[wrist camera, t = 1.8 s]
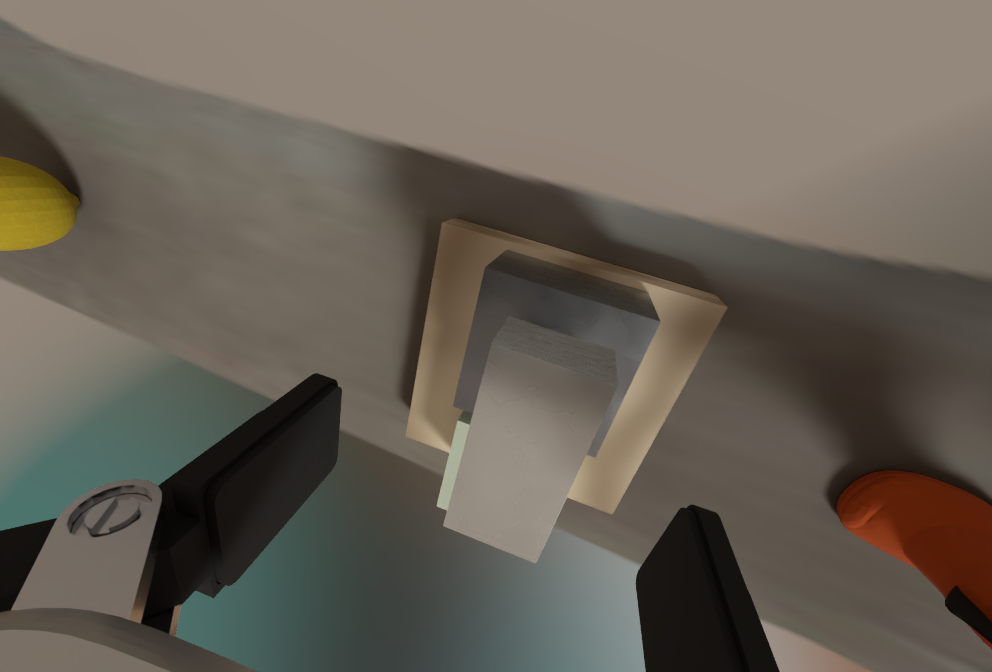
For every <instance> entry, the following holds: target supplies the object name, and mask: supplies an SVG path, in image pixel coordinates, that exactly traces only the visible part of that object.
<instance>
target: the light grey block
mask: <svg viewBox="0 0 992 672" xmlns="http://www.w3.org/2000/svg"><path fill="white" fill-rule="evenodd" d="M617 387H618V377H617V367H616V356H615V350H612V349H609V348H606V347H603V346H600V345H597V344H594V343H590V342H587V341H584V340H581V339H578V338H575V337H572V336H569V335H566V334H563V333H560V332H557V331H553V330H550V329H547V328H544V327H541V326H538V325H535V324H532V323H529V322H526V321H523V320H520V319H517V318H513V317H510V316H508V318H507V319H506V321H505V323H504V324H503V326H502V327H501V329H500V330H499V332H498V334H497V335H496V337H495V338H494V340H493V341H492V343H491V347H490V351H489V354H488V358H487V362H486V366H485V370H484V373H483V377H482V381H481V385H480V388H479V392H478V396H477V400H476V404H475V407H474V411H473V415H472V419H471V423H470V426H469V430H468V434H467V438H466V442H465V445H464V449H463V453H462V457H461V460H460V464H459V468H458V472H457V476H456V479H455V483H454V487H453V491H452V495H451V498H450V502H449V506H448V510H447V514H446V518H445V521H444V525H443V526H444V527H447V528H450V529H452V530H454V531H457V532H459V533H462V534H464V535H467V536H469V537H472V538H474V539H476V540H479V541H481V542H484V543H487V544H489V545H491V546H494V547H496V548H499V549H501V550H504V551H506V552H509V553H511V554H513V555H516V556H519V557H521V558H523V559H526V560H528V561H531V562H533V563H537V560H538V558H539V556H540V554H541V552H542V549H543V547H544V545H545V543H546V541H547V539H548V537H549V534H550V532H551V530H552V528H553V526H554V524H555V521H556V519H557V517H558V515H559V513H560V511H561V508H562V506H563V504H564V502H565V500H566V498H567V495H568V493H569V491H570V489H571V487H572V485H573V483H574V480H575V478H576V476H577V474H578V472H579V470H580V467H581V465H582V463H583V461H584V459H585V457H586V454H587V452H588V450H589V448H590V446H591V444H592V441H593V439H594V437H595V435H596V433H597V431H598V428H599V426H600V424H601V422H602V420H603V418H604V416H605V413H606V411H607V409H608V407H609V405H610V403H611V400H612V398H613V396H614V394H615V392H616V390H617Z"/></svg>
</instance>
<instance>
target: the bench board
mask: <svg viewBox="0 0 992 672" xmlns="http://www.w3.org/2000/svg"><path fill="white" fill-rule="evenodd" d="M505 250H510V251H514V252H517V253H520V254H524V255H527V256H530V257H534V258H537V259H540V260H544V261H547V262H550V263H554V264H557V265H560V266H564V267H567V268H570V269H573V270H577V271H580V272H583V273H587V274H590V275H593V276H597V277H600V278H603V279H607V280H610V281H613V282H617V283H620V284H623V285H626V286H630V287H633V288H636V289H640V290H643V291H646V292H648V293H649V296H650V298H651V300H652V303H653V305H654V307H655V310H656V312H657V314H658V317H659V319H660V321H661V322H660V324H659V326H658V329H657V331H656V333H655V335H654V337H653V339H652V341H651V343H650V345H649V347H648V349H647V351H646V354H645V356H644V358H643V360H642V362H641V364H640V366H639V368H638V370H637V372H636V374H635V376H634V379H633V381H632V383H631V385H630V387H629V389H628V391H627V393H626V395H625V397H624V399H623V402H622V404H621V406H620V408H619V410H618V412H617V414H616V416H615V418H614V420H613V422H612V424H611V427H610V429H609V431H608V433H607V435H606V437H605V439H604V441H603V443H602V445H601V447H600V450H599V452H598V454H597V456H596V458H594V457H591V456H589V455H586V457H585V459H584V461H583V463H582V466H581V468H580V470H579V472H578V475H577V477H576V479H575V481H574V483H573V485H572V488H571V490H570V492H569V494H568V496H567V498H570V499H573V500H575V501H578V502H580V503H583V504H586V505H588V506H591V507H594V508H596V509H599V510H602V511H604V512H607V513H610V514H613V513H614V511H615V509H616V507H617V505H618V504H619V502H620V500H621V498H622V496H623V495H624V493H625V491H626V489H627V487H628V486H629V484H630V482H631V480H632V478H633V477H634V475H635V473H636V471H637V469H638V468H639V466H640V464H641V462H642V460H643V459H644V457H645V455H646V453H647V451H648V450H649V448H650V446H651V444H652V443H653V441H654V439H655V437H656V435H657V434H658V432H659V430H660V428H661V426H662V425H663V423H664V421H665V419H666V417H667V416H668V414H669V412H670V410H671V408H672V407H673V405H674V403H675V401H676V399H677V398H678V396H679V394H680V392H681V390H682V389H683V387H684V385H685V383H686V381H687V380H688V378H689V376H690V374H691V372H692V371H693V369H694V367H695V365H696V363H697V362H698V360H699V358H700V356H701V355H702V353H703V351H704V349H705V347H706V346H707V344H708V342H709V340H710V338H711V337H712V335H713V333H714V331H715V329H716V328H717V326H718V324H719V322H720V320H721V319H722V317H723V315H724V313H725V311H726V310H727V308H728V307H727V306H726V305H725V304H724V303H723V302H722V301H721V300H720V299H719V298H718V297H717V296H716V295H715V294H711V293H708V292H705V291H701V290H698V289H694V288H691V287H688V286H684V285H681V284H677V283H674V282H671V281H667V280H664V279H661V278H657V277H654V276H650V275H647V274H644V273H640V272H637V271H634V270H630V269H627V268H623V267H620V266H617V265H613V264H610V263H607V262H603V261H600V260H596V259H593V258H590V257H586V256H583V255H580V254H576V253H573V252H569V251H566V250H563V249H559V248H556V247H553V246H549V245H546V244H542V243H539V242H536V241H532V240H529V239H526V238H522V237H519V236H515V235H512V234H509V233H505V232H502V231H498V230H495V229H492V228H488V227H485V226H482V225H478V224H475V223H471V222H468V221H465V220H461V219H458V218H453V219H450V220H447V221H443V222H442V225H441V231H440V237H439V243H438V249H437V255H436V261H435V267H434V273H433V278H432V284H431V290H430V296H429V302H428V308H427V314H426V320H425V326H424V331H423V337H422V343H421V349H420V355H419V361H418V367H417V373H416V379H415V384H414V390H413V396H412V402H411V408H410V414H409V420H408V426H407V432H406V437H409V438H411V439H414V440H417V441H419V442H422V443H425V444H427V445H430V446H433V447H435V448H438V449H441V450H443V451H446V452H448V453H450V449H451V445H452V441H453V437H454V433H455V429H456V425H457V421H458V419H459V417H460V415H461V413H462V412H463V410H462V409H459V408H456V407H453V403H454V399H455V394H456V390H457V386H458V381H459V377H460V373H461V368H462V364H463V360H464V356H465V351H466V347H467V343H468V338H469V334H470V330H471V325H472V321H473V317H474V312H475V308H476V304H477V299H478V295H479V291H480V287H481V282H482V278H483V274H484V269H485V267H486V266H487V265H488V264H490V263H491V262H492V261H493V260H494V259H496V258H497V257H498V256H499V255H501V254H502V253H503V252H504V251H505Z"/></svg>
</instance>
